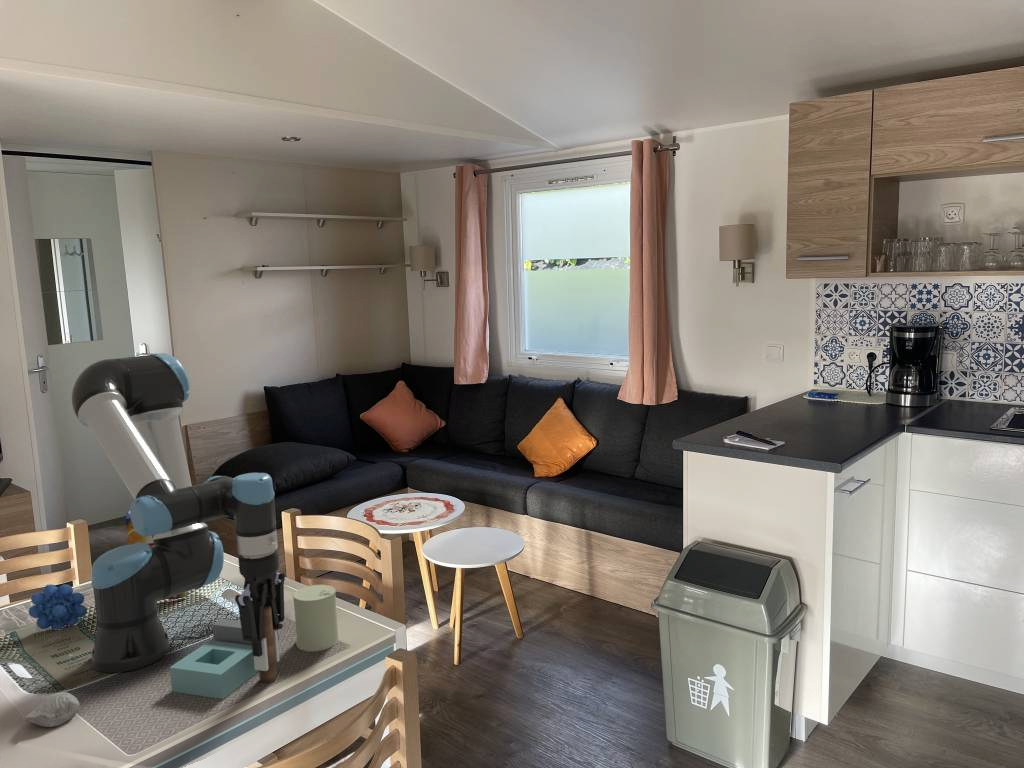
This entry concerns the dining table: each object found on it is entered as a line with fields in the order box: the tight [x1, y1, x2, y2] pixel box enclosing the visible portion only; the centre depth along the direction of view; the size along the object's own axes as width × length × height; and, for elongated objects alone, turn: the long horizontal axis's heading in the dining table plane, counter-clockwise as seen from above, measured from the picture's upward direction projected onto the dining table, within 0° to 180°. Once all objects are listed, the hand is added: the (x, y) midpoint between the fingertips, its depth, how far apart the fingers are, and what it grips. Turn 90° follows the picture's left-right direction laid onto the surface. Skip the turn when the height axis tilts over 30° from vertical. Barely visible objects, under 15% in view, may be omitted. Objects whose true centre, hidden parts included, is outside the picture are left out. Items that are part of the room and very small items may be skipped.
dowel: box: [258, 605, 278, 684], centre depth 156 cm, size 3×3×15 cm
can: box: [292, 584, 340, 652], centre depth 172 cm, size 9×9×12 cm
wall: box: [212, 618, 252, 645], centre depth 165 cm, size 12×3×8 cm, turn 73°
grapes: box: [28, 584, 88, 630], centre depth 181 cm, size 12×7×12 cm, turn 126°
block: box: [169, 639, 259, 700], centre depth 157 cm, size 12×12×5 cm
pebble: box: [24, 691, 81, 728], centre depth 144 cm, size 9×8×5 cm
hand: (267, 664), depth 156 cm, fingers closed on dowel, 3 cm apart
